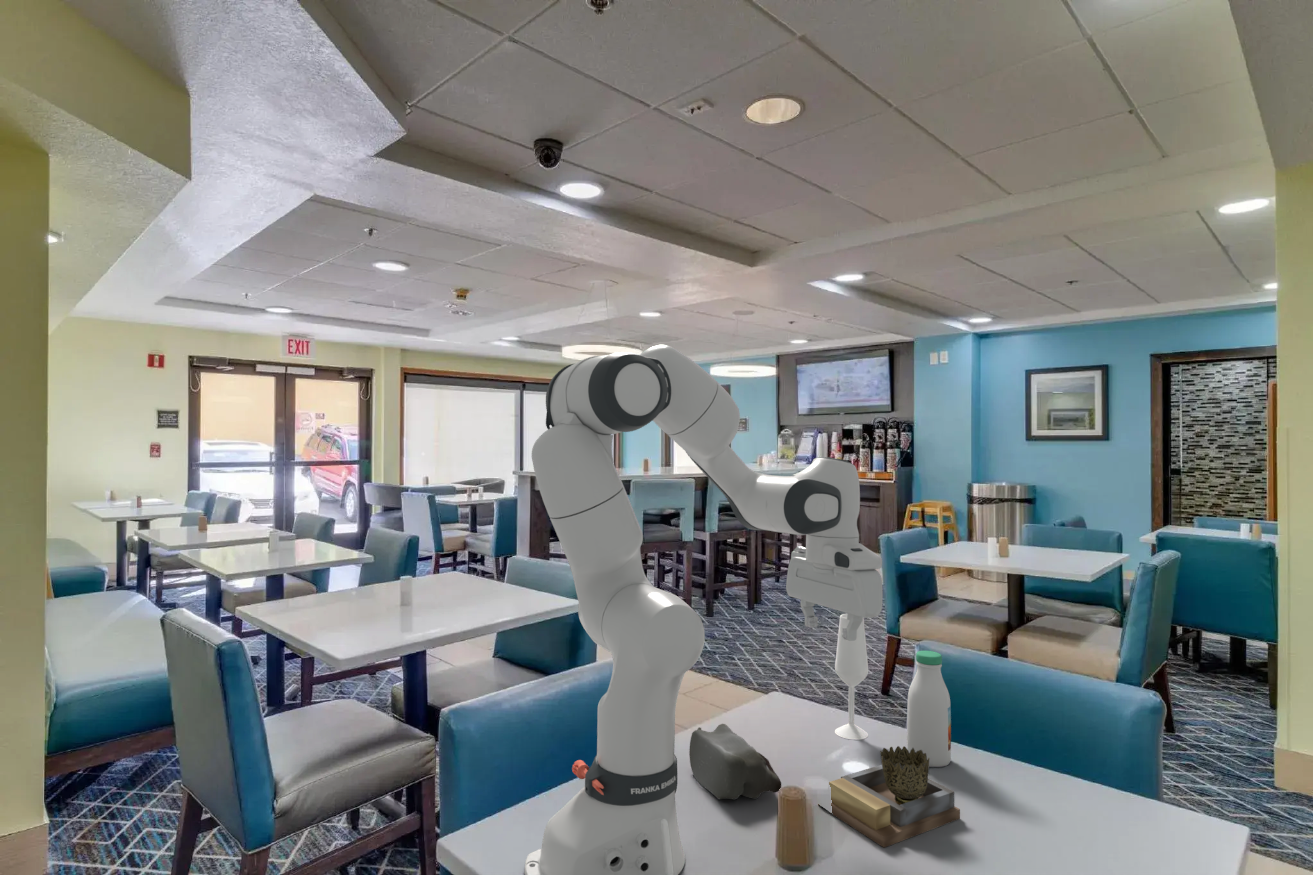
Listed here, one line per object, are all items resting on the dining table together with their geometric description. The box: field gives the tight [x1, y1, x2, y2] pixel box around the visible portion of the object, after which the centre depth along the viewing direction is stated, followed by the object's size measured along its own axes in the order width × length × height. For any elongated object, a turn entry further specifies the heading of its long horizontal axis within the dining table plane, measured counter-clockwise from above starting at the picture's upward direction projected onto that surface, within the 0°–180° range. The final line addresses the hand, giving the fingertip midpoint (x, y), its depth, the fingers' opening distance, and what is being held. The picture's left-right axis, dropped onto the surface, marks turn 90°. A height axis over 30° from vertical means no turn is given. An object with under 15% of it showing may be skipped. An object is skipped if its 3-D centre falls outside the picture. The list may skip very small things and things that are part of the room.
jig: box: [828, 764, 961, 849], centre depth 113 cm, size 17×14×4 cm
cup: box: [879, 745, 930, 805], centre depth 112 cm, size 8×7×8 cm
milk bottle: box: [906, 650, 952, 768], centre depth 133 cm, size 8×8×20 cm
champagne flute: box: [834, 613, 869, 741], centre depth 145 cm, size 7×7×24 cm
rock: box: [688, 723, 782, 800], centre depth 122 cm, size 18×11×8 cm, turn 23°
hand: (829, 633), depth 120 cm, fingers open, 8 cm apart
